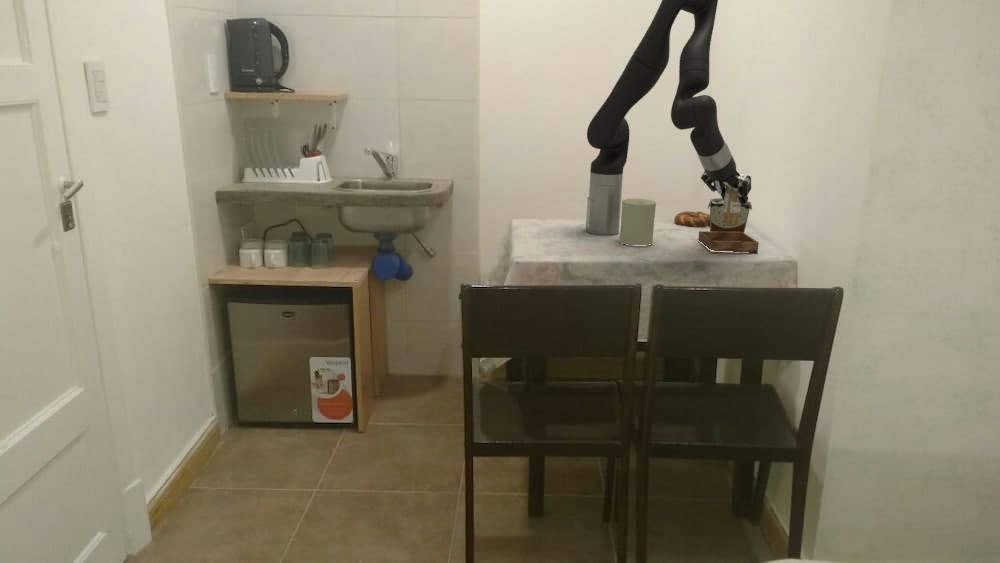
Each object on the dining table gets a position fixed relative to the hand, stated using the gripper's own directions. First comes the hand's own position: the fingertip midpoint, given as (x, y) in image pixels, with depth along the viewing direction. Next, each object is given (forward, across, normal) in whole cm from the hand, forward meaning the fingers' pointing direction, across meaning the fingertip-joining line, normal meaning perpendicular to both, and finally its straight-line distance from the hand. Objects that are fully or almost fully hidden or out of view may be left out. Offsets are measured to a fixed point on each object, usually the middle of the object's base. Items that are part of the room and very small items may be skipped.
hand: (736, 200), depth 195 cm
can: (-3, +19, +21) cm, 29 cm away
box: (+8, 0, +10) cm, 13 cm away
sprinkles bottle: (+3, 0, +6) cm, 7 cm away
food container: (+18, +10, 0) cm, 21 cm away
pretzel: (+21, +23, -3) cm, 31 cm away
